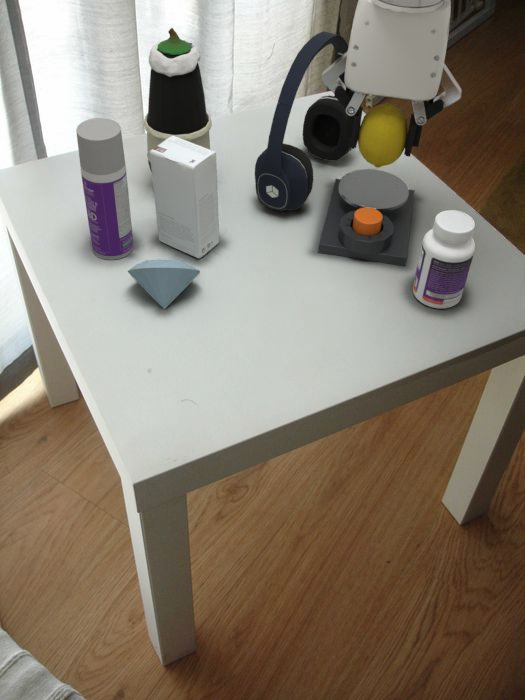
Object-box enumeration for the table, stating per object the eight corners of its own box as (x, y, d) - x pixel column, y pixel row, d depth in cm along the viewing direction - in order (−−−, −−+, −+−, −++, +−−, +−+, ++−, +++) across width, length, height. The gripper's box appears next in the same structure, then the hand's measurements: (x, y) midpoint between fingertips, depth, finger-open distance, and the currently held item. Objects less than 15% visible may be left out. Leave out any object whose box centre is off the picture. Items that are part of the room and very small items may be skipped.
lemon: (370, 184, 89) (381, 120, 84) (345, 160, 93) (353, 97, 87) (410, 173, 91) (423, 110, 86) (384, 150, 95) (394, 88, 89)
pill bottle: (471, 298, 86) (493, 226, 79) (435, 316, 83) (454, 243, 77) (437, 272, 89) (455, 199, 82) (401, 288, 87) (417, 215, 80)
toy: (140, 199, 96) (127, 39, 82) (157, 165, 102) (147, 9, 88) (204, 208, 96) (202, 47, 82) (218, 172, 101) (217, 17, 87)
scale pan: (410, 178, 97) (411, 174, 96) (405, 216, 91) (406, 213, 91) (343, 168, 98) (343, 164, 97) (333, 205, 92) (334, 202, 92)
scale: (413, 198, 99) (417, 177, 97) (404, 269, 89) (408, 248, 87) (334, 186, 100) (337, 166, 98) (317, 255, 90) (319, 234, 88)
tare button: (381, 222, 91) (383, 209, 89) (378, 238, 88) (381, 225, 87) (354, 217, 91) (356, 205, 90) (350, 234, 89) (352, 221, 88)
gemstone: (192, 306, 78) (192, 256, 78) (118, 307, 79) (118, 258, 79) (206, 311, 86) (206, 265, 86) (138, 312, 87) (138, 267, 87)
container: (84, 253, 89) (65, 134, 78) (105, 230, 92) (90, 113, 81) (120, 264, 88) (107, 145, 77) (140, 241, 91) (130, 123, 80)
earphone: (314, 137, 108) (327, 3, 95) (360, 151, 106) (380, 16, 93) (244, 209, 96) (248, 66, 83) (294, 227, 94) (307, 82, 81)
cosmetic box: (220, 242, 91) (220, 150, 82) (197, 262, 88) (195, 168, 80) (178, 223, 93) (174, 131, 85) (154, 242, 91) (148, 149, 82)
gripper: (495, -21, 79) (457, 140, 92) (327, -40, 81) (312, 120, 94) (496, 8, 74) (455, 174, 86) (315, -13, 76) (301, 152, 88)
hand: (381, 145), depth 90 cm, fingers closed on lemon, 5 cm apart
